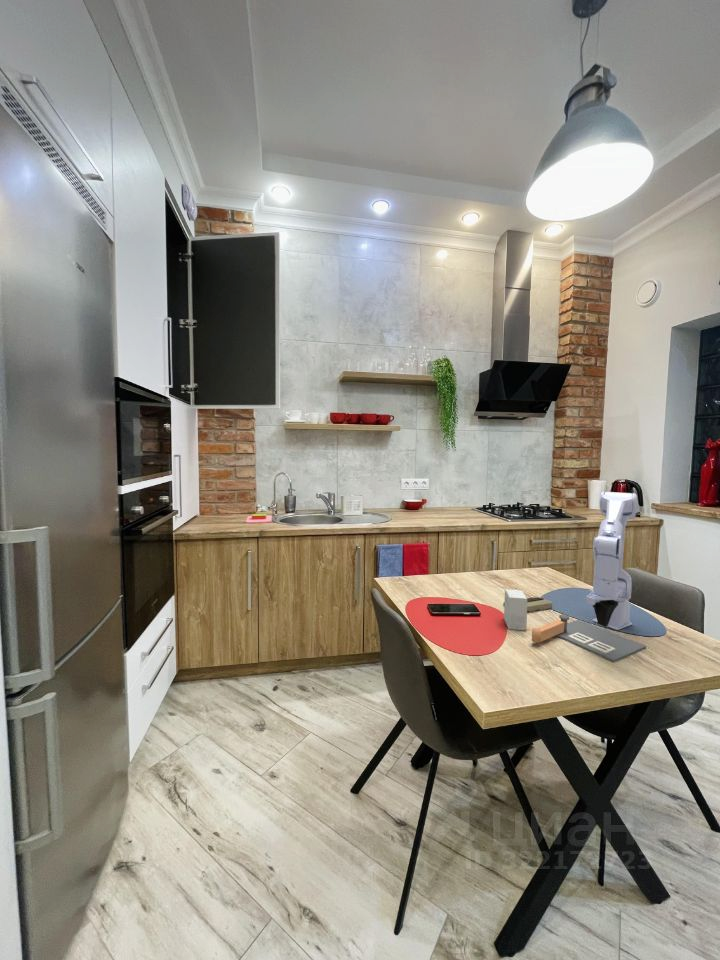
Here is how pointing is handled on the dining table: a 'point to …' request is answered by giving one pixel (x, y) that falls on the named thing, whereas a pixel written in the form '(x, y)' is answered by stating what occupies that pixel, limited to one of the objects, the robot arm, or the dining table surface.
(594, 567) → the robot arm
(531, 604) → the brown flat block
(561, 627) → the swing bar
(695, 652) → the dining table surface
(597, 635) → the board
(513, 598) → the small box
